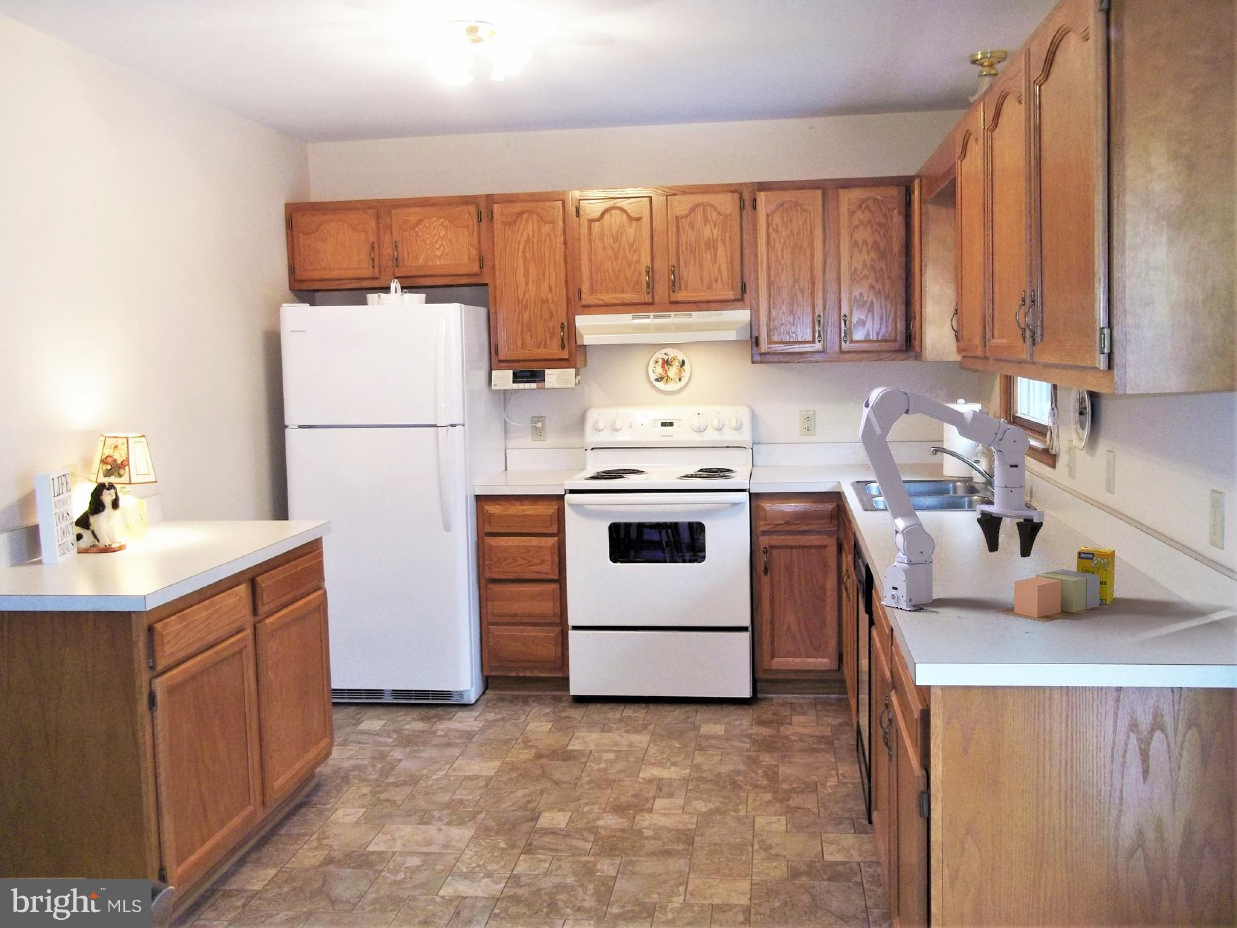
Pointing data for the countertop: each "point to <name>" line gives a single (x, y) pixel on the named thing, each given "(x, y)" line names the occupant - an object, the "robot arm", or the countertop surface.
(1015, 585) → the terracotta block
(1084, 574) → the slate book
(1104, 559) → the supplement box
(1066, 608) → the olive book
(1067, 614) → the walnut board
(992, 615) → the countertop surface
